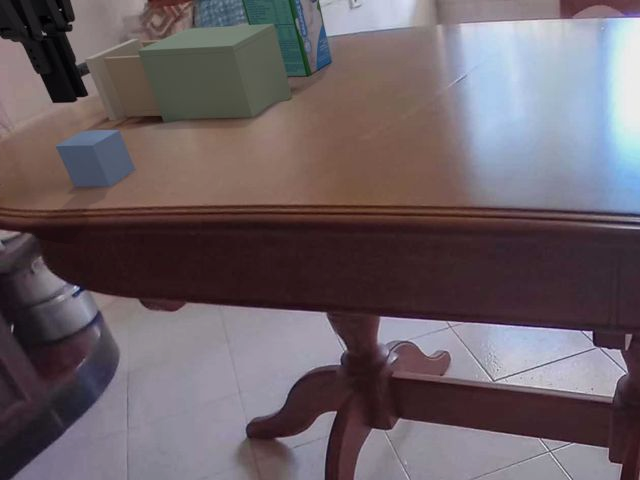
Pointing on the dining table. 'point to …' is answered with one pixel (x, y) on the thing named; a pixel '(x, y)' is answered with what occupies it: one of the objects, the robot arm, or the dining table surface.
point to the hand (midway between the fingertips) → (70, 98)
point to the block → (96, 158)
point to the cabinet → (216, 72)
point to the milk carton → (294, 32)
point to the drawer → (122, 80)
